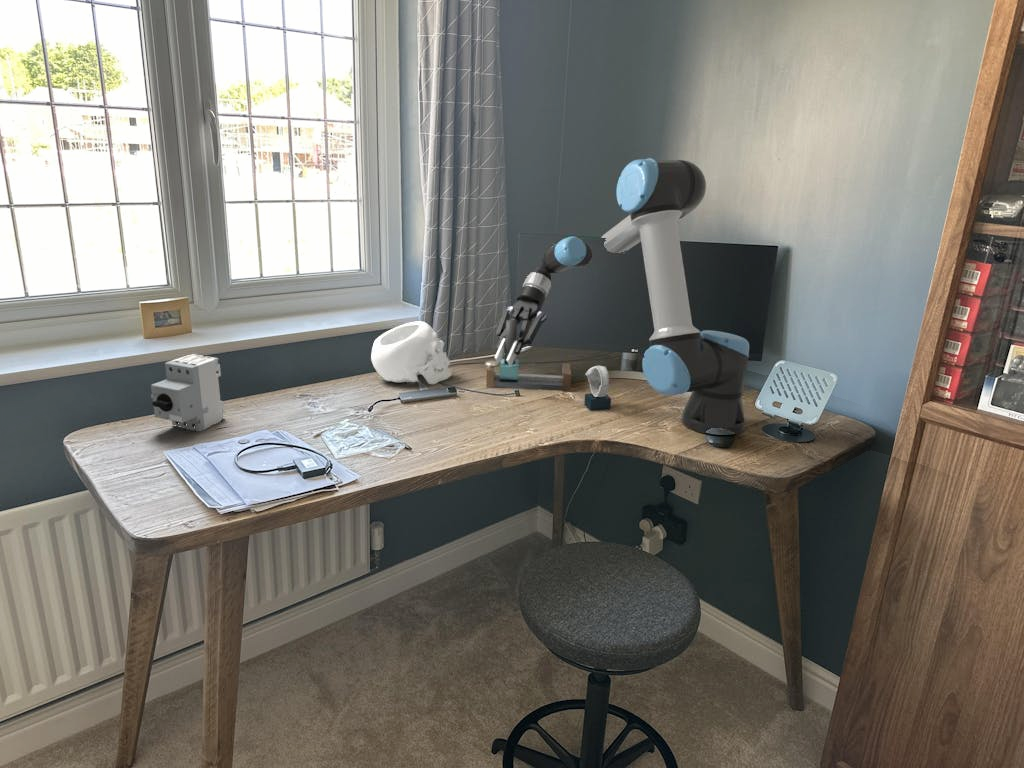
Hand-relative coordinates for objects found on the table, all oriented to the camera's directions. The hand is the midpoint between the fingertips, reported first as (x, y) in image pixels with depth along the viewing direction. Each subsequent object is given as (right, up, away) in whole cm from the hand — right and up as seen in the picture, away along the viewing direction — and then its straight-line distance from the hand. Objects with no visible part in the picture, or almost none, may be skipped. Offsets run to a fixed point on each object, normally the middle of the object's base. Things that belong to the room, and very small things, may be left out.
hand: (503, 361), depth 192 cm
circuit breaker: (-70, -16, -34) cm, 80 cm away
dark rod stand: (+2, -4, +5) cm, 7 cm away
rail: (+7, -6, +5) cm, 11 cm away
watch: (+24, -12, -10) cm, 29 cm away
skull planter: (-25, -5, +4) cm, 26 cm away
